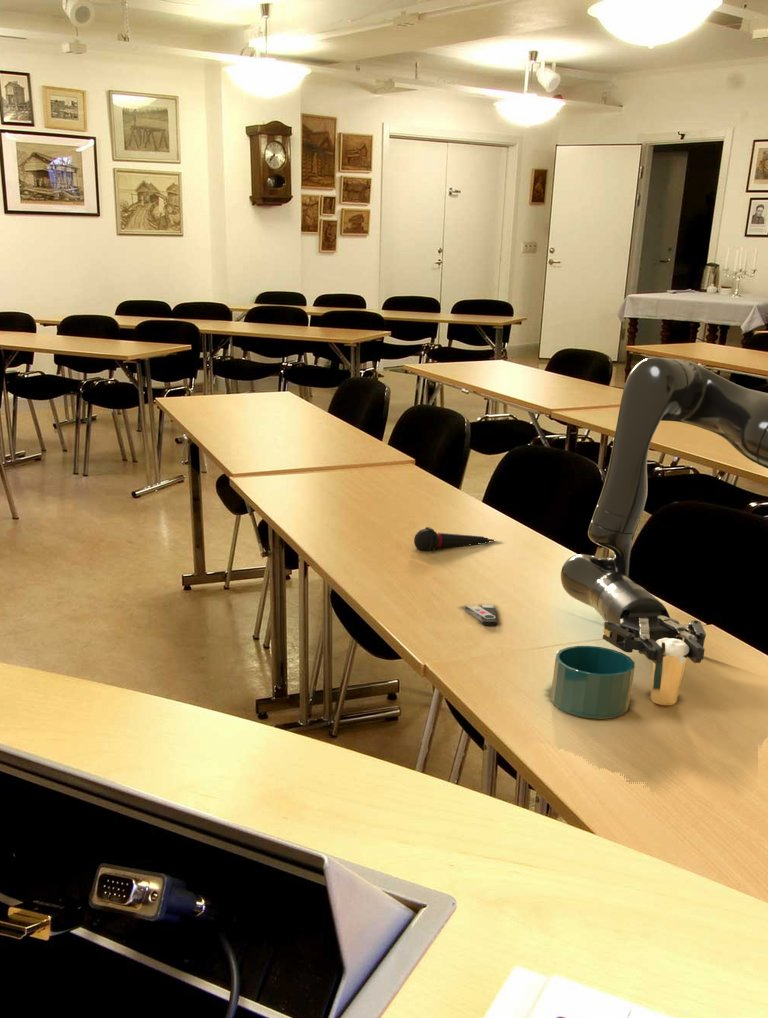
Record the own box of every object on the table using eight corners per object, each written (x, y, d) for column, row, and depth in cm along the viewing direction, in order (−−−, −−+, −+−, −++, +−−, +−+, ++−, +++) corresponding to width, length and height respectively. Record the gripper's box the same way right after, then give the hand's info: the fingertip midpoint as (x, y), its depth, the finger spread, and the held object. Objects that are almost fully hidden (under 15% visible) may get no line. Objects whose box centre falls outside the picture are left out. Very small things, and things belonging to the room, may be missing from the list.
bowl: (581, 680, 134) (586, 640, 132) (643, 705, 126) (650, 662, 124) (535, 698, 129) (540, 657, 127) (597, 725, 121) (603, 681, 119)
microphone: (492, 555, 202) (409, 554, 197) (492, 529, 202) (410, 527, 197) (505, 555, 197) (421, 553, 192) (506, 528, 196) (421, 526, 191)
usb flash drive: (496, 626, 155) (497, 621, 154) (465, 625, 156) (465, 620, 155) (494, 608, 162) (494, 603, 162) (464, 607, 163) (464, 602, 163)
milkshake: (637, 703, 127) (646, 638, 123) (653, 689, 130) (662, 625, 126) (670, 713, 124) (680, 646, 120) (686, 699, 127) (696, 633, 123)
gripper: (586, 589, 136) (629, 631, 120) (683, 587, 136) (739, 629, 120) (580, 635, 139) (622, 683, 123) (675, 634, 138) (729, 681, 123)
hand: (679, 656), depth 122 cm, fingers closed on milkshake, 4 cm apart
